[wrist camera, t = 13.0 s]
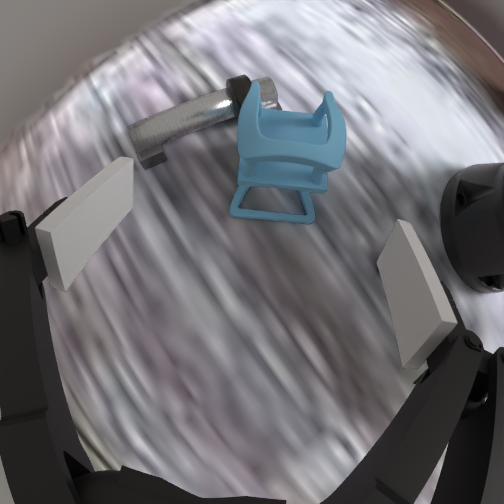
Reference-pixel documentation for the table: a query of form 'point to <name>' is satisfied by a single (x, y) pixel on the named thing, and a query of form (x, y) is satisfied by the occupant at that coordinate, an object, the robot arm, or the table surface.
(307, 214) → the chair
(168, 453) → the table surface
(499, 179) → the robot arm
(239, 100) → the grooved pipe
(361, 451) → the table surface
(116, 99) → the table surface
